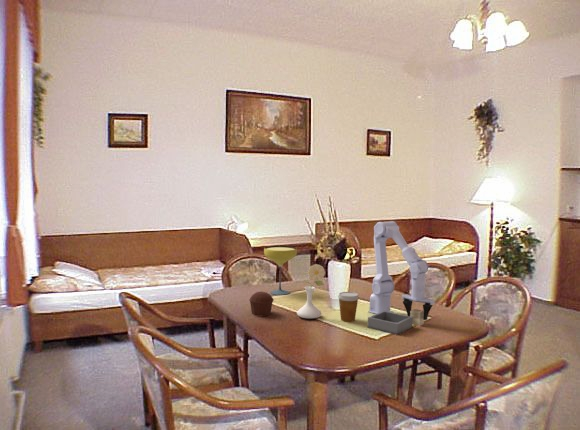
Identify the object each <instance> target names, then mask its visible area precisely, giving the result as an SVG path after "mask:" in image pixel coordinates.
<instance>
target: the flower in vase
mask: <svg viewBox="0 0 580 430" xmlns="http://www.w3.org/2000/svg"><path fill="white" fill-rule="evenodd" d="M307 275H308V278H309V279H310V280H312V281H313V283H312V284H311V283H310V282H309V281H306V280H304V282H306V283H307V284H308V285H309V286H304V287H303V288H304V289H305V292H306V302H305V304H303V306H301V307H300V308H299V309H298V310H297V312H296V314H297V316H298V317H300V318H303V319H317V318H320V317H321V316H322V311H321V310H320V309H319V308H318V307H317V306H316V305H314V303H313V293H314V290H315V289H316V287H314V285H316V286H319V287H320V286H324V285H325V284H324V282H323V281H322V280H323V279H324V277H325V275H326V270H325V268H324V267H323V266H322V265H320V264H318V263H315V264H312V265H310V266H309V268H308V271H307ZM310 285H311V286H310Z"/></svg>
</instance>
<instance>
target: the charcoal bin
mask: <svg viewBox="0 0 580 430" xmlns="http://www.w3.org/2000/svg"><path fill="white" fill-rule="evenodd" d="M412 321H413V317H411V316H407V314H405V315H404V314H402V313H401V314H400V313H396V312H394V313H392V312H387V311H382V312H380V313H377V314H375V313H374V314H373V315H370V316H368V317H367V328H368V329H371V330H375V331H379V332H384V333H388V334H392V335H396V336H397V335H400V334H402V333H403V332H406V331H407V330H409V329H411V328H413V325H412Z"/></svg>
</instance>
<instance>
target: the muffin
mask: <svg viewBox="0 0 580 430" xmlns="http://www.w3.org/2000/svg"><path fill="white" fill-rule="evenodd" d="M273 302H274V297H273V296H272V294H271V293H268V292H266V291H257V292H254V293H253V294H252V295H251V297H250V298H249V303H250V308H251V309H250V310H251V311H250V312H251V314H252V315H253V316H258V317H266V316H270V314H271V313H272V307H273Z"/></svg>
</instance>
